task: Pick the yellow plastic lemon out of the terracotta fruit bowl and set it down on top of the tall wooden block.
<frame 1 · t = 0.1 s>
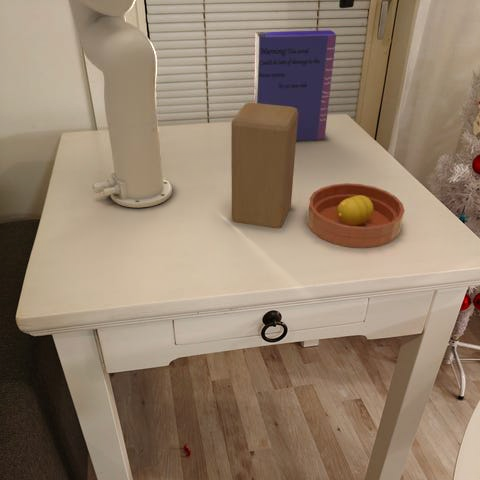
hand: (330, 3, 109), 31 cm above the table, tool pointing down, fingers open, 9 cm apart
lemon: (353, 223, 102), point 1 cm above the table, touching fruit bowl
wooden block: (261, 216, 105), on the table
fruit bowl: (352, 225, 102), on the table
purple book: (288, 138, 136), on the table
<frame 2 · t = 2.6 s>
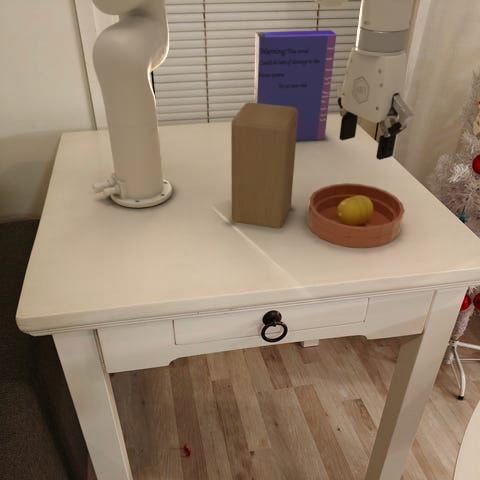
hand: (365, 147, 93), 15 cm above the table, tool pointing down, fingers open, 9 cm apart
nothing on the table moved.
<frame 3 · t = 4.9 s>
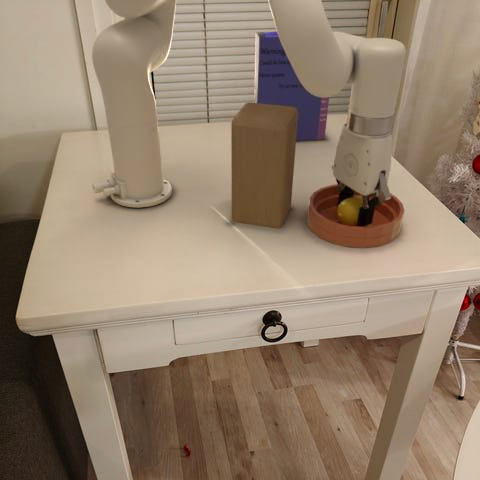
hand: (354, 217, 101), 2 cm above the table, tool pointing down, fingers closed on lemon, 5 cm apart
lemon: (353, 223, 102), point 1 cm above the table, touching fruit bowl, gripper
everything else where it was.
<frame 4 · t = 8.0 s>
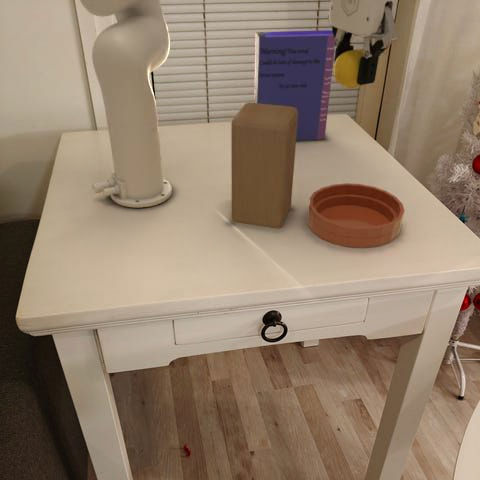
hand: (353, 77, 86), 27 cm above the table, tool pointing down, fingers closed on lemon, 5 cm apart
lemon: (352, 85, 87), point 25 cm above the table, touching gripper
everything else where it was.
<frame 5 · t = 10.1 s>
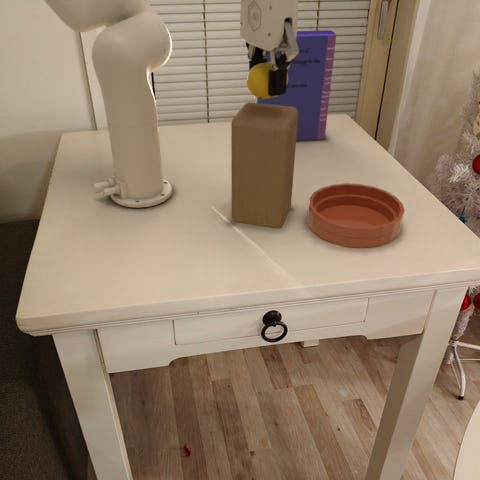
hand: (267, 88, 90), 24 cm above the table, tool pointing down, fingers closed on lemon, 5 cm apart
lemon: (266, 96, 90), point 23 cm above the table, touching gripper
everything else where it was.
when the fingers open (21 cm above the table, at t = 11.3 s): lemon stays where it is, resting on wooden block.
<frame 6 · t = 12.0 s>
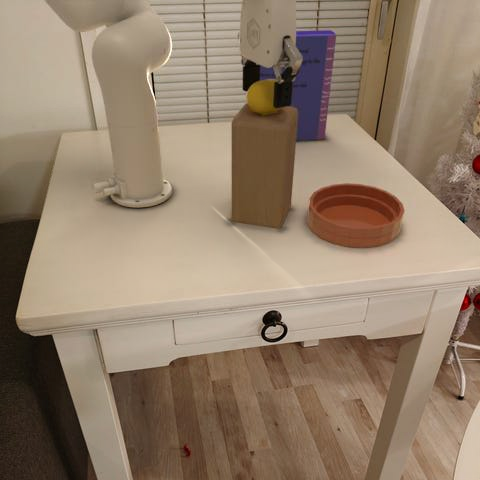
hand: (266, 98, 91), 22 cm above the table, tool pointing down, fingers open, 9 cm apart
lemon: (266, 112, 92), point 20 cm above the table, touching wooden block
wooden block: (261, 216, 105), on the table, touching lemon
everything else where it was.
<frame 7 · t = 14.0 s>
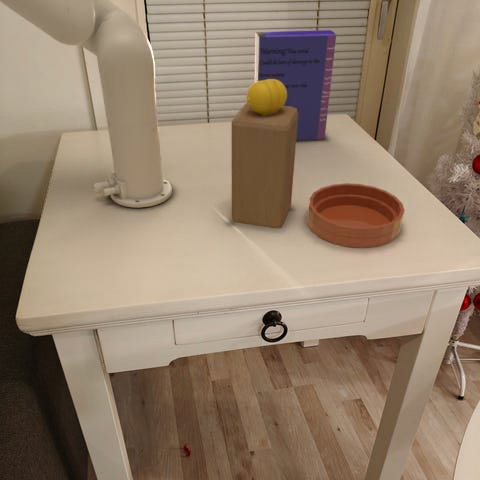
nothing on the table moved.
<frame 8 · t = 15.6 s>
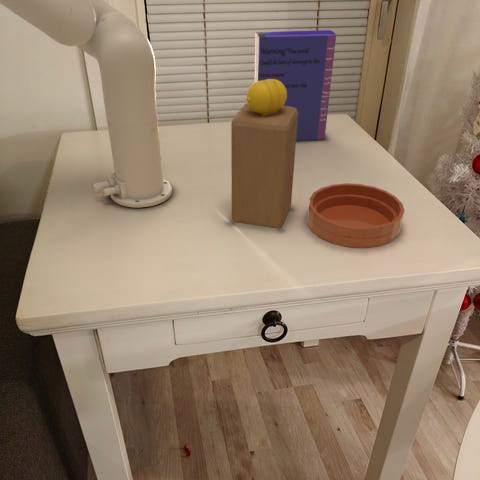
nothing on the table moved.
at the end: lemon inside the target area on the wooden block (0.1 cm from its centre), point 20.2 cm above the wooden block's base; lemon touching wooden block; wooden block tilted 0° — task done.
